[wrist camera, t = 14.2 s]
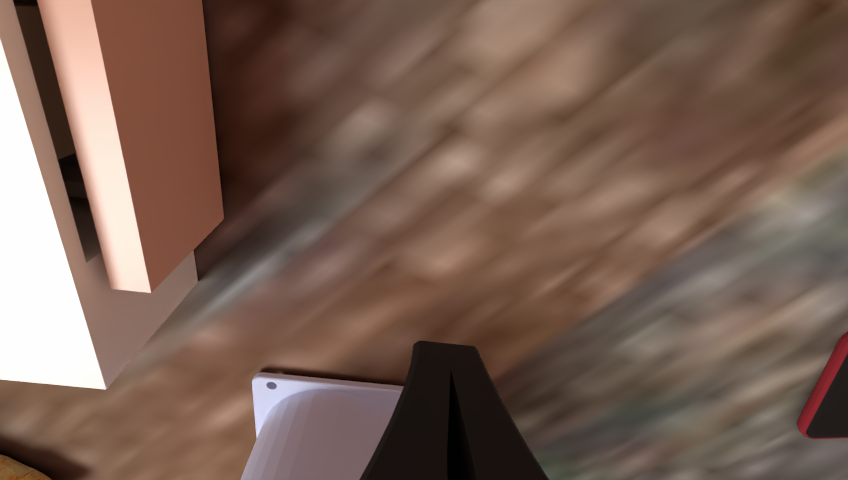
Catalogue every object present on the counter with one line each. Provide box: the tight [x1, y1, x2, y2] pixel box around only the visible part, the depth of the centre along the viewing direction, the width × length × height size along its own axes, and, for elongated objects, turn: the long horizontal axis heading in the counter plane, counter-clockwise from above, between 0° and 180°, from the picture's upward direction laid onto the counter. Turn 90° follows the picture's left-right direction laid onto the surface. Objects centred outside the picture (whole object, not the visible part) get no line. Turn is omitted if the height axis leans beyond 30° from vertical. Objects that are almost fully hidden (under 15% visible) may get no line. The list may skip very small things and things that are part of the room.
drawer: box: [37, 0, 224, 293], centre depth 13 cm, size 9×11×5 cm
